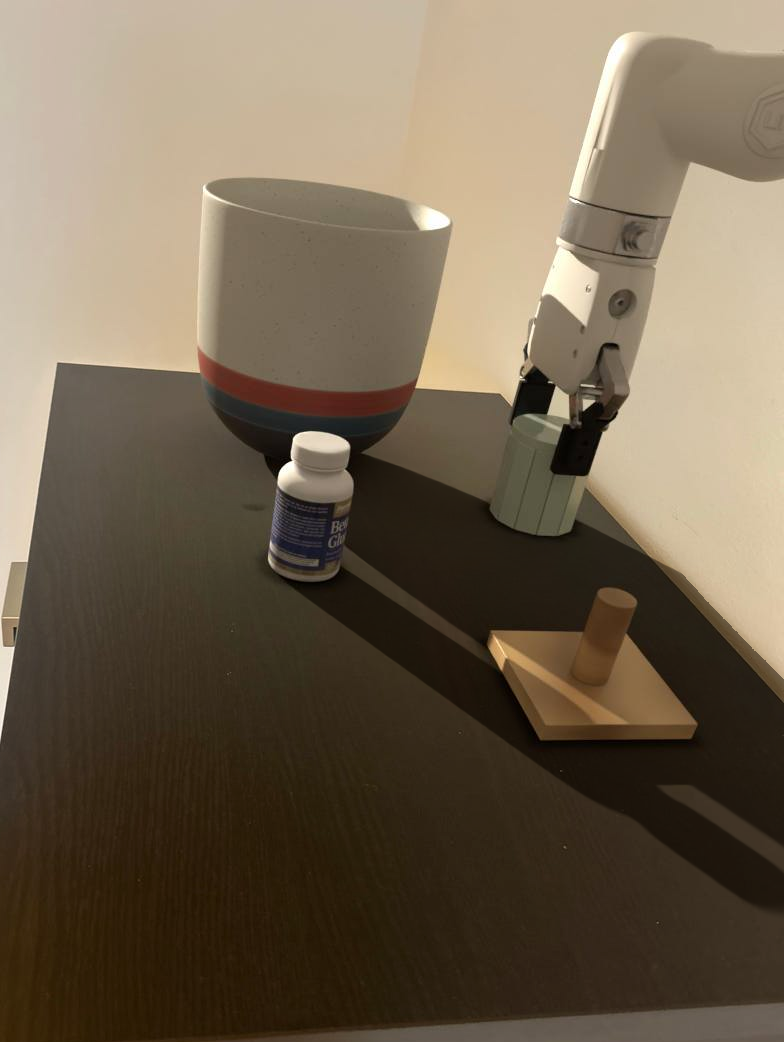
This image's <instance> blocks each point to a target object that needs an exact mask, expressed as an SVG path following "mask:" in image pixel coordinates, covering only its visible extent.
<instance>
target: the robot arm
mask: <svg viewBox="0 0 784 1042" xmlns="http://www.w3.org/2000/svg"><path fill="white" fill-rule="evenodd" d="M691 163H693V164H695V165H699V166H703V167H706V168H709V169H711V170H715V171H717V172H720V173H723V174H725V175H727V176H731V177H734V178H736V179H739V180H743V181H747V182H753V183H769V182H770V183H771V182H776V181H779V180H783V179H784V50H783V51H747V50H737V49H727V48H726V49H725V48H724V49H723V48H716V47H714V46H713V45H711V44H710V43H707V42H704V41H701V40H697V39H692V38H687V37H682V36H677V35H671V34H665V33H656V32H651V31H650V32H649V31H631V32H627V33H626V32H625V33H624V34H622V35H621V36H619V37H618V38H617V39H616V40H615V41H614V42H613V45H612V46H611V48H610V50H609V52H608V54H607V57H606V60H605V63H604V67H603V70H602V74H601V77H600V82H599V85H598V87H597V92H596V96H595V99H594V103H593V107H592V111H591V114H590V118H589V122H588V124H587V129H586V132H585V135H584V140H583V143H582V148H581V150H580V154H579V158H578V160H577V165H576V168H575V172H574V174H573V175H574V176H573V179H572V183H571V186H570V190H569V192H568V193H569V194H568V197H567V200H566V204H565V208H564V212H563V215H562V218H561V222H560V225H559V230H558V233H557V237H556V240H555V244H556V246H558V249H557V251H556V253H555V256H554V259H553V262H552V263H551V264H552V265H551V267H550V270H549V273H548V274H547V275H548V276H547V277H546V281H545V284H544V287H543V290H542V293H541V297H540V299H539V302H538V306H537V309H536V312H535V315H534V316H532V317H530V318H529V320H528V325H527V335H526V336H527V337H526V343H525V345H524V348H523V349H522V351H523V357H524V358H523V359H524V362H523V363H522V364H521V366H520V369H519V373H518V375H519V380H518V384H517V388H516V391H515V395H514V399H513V402H512V406H511V410H510V413H509V416H508V420H507V421H508V422H507V423H508V424H509V425H510V426H511V427H512V424H513V420H514V419H515V418H516V417H518V416H520V415H525V414H546V415H549V410H550V407H551V403H552V401H553V396H554V393H555V390H556V387H557V388H558V389H559V390H560V391H561V392H562V393H564V394H566V395H568V415H569V416H568V419H569V424H563V427H562V430H561V433H560V437H559V440H558V443H557V446H556V449H555V453H554V456H553V459H552V462H551V465H550V470H551V472H552V473H553V474H555V475H569V476H587V475H588V474H589V475H590V473H589V472H591V470H590V469H592V467H593V464H592V463H594V461H595V457H596V454H597V451H598V449H599V445H600V442H601V440H602V436H603V433H605V432H607V431H608V429H609V427H610V424H611V423H612V422H613V421H615V420H616V419H617V416H618V414H619V410H620V409H621V408H622V406H623V405H624V404H625V402H626V401H627V400H628V398H629V396H630V393H631V386H630V384H629V382H630V379H631V376H632V372H633V369H634V366H635V363H636V359H637V356H638V352H639V349H640V346H641V342H642V339H643V335H644V331H645V327H646V323H647V319H648V315H649V311H650V306H651V302H652V297H653V291H654V286H655V279H656V278H655V277H656V271H657V268H656V267H655V265H657V262H658V260H659V256H660V254H661V251H662V247H663V245H664V242H665V239H666V236H667V234H668V230H669V227H670V224H671V221H672V218H673V215H674V212H675V209H676V206H677V203H678V200H679V197H680V194H681V191H682V189H683V185H684V183H685V180H686V176H687V173H688V171H689V167H690V164H691ZM586 385H587V386H586ZM584 400H587V401H588V400H589V401H594V402H592V403H591V404H590V405H589V406H587V407H586V408H585V409H584ZM591 466H592V467H591Z"/></svg>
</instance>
